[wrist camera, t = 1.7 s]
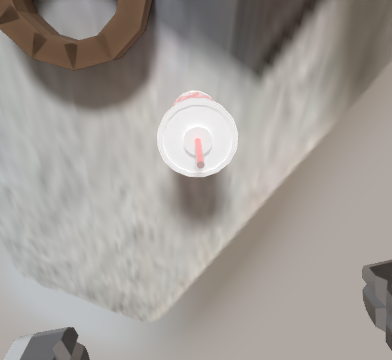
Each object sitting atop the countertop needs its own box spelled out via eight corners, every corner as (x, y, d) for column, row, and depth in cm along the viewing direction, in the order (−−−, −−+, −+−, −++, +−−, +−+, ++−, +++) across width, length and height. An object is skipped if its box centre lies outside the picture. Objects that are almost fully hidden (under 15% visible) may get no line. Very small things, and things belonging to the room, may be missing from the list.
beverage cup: (170, 75, 30) (159, 103, 17) (231, 90, 31) (264, 127, 18) (159, 136, 33) (142, 199, 20) (216, 148, 33) (235, 217, 21)
